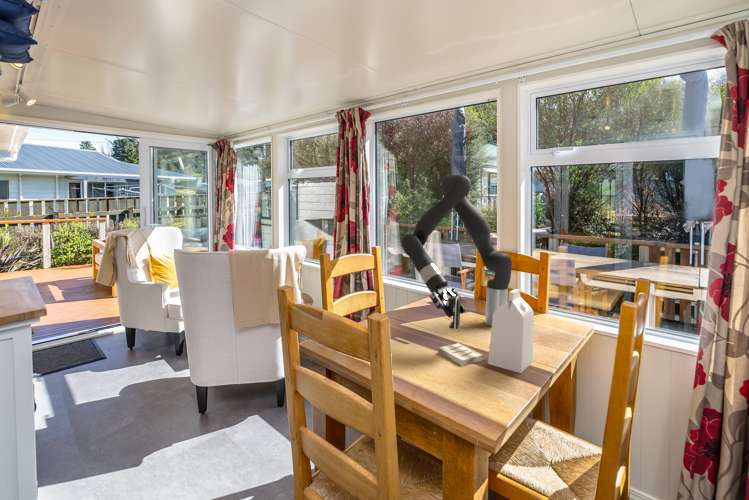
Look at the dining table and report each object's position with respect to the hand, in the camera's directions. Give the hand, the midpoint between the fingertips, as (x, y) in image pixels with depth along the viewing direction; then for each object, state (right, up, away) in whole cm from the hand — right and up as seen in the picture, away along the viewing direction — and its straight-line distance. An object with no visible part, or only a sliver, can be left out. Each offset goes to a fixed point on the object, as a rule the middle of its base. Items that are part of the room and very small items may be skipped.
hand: (457, 314), depth 142 cm
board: (+1, -15, -1) cm, 15 cm away
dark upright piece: (-1, -5, +2) cm, 6 cm away
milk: (+17, -16, -6) cm, 25 cm away
